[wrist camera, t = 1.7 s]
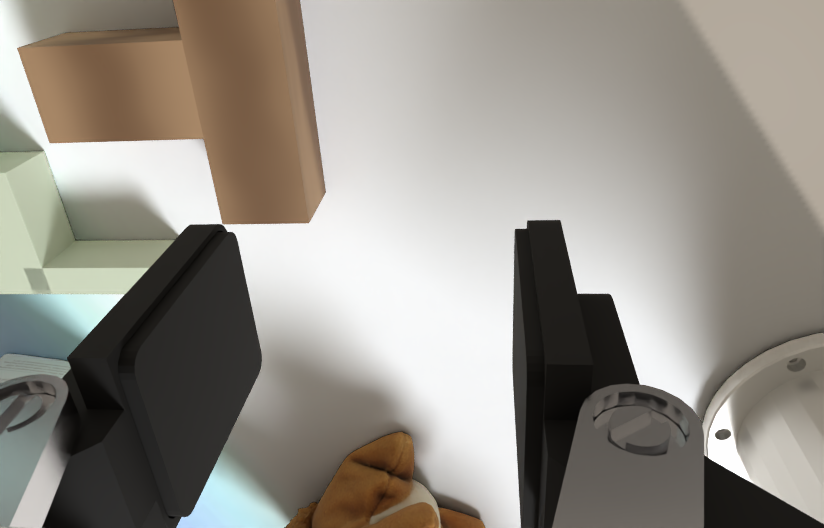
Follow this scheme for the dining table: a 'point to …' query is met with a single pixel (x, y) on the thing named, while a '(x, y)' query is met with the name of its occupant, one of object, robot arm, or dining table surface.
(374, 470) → the stuffed squirrel
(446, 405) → the dining table surface
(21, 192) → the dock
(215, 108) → the tee
